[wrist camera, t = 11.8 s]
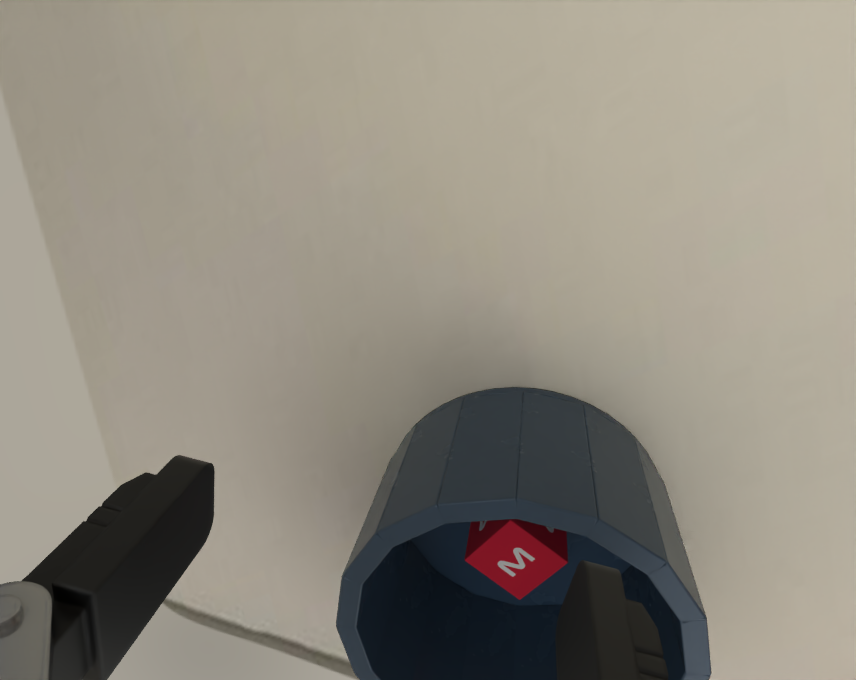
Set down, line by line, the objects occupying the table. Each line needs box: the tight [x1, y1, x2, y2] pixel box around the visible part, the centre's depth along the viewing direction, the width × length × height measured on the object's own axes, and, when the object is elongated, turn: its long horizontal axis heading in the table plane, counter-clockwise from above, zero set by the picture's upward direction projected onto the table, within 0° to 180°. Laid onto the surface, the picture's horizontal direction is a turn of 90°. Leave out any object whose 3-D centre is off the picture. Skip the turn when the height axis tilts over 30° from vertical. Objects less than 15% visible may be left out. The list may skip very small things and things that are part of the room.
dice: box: [465, 519, 568, 600], centre depth 25 cm, size 3×3×3 cm
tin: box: [336, 387, 711, 680], centre depth 23 cm, size 13×13×8 cm
